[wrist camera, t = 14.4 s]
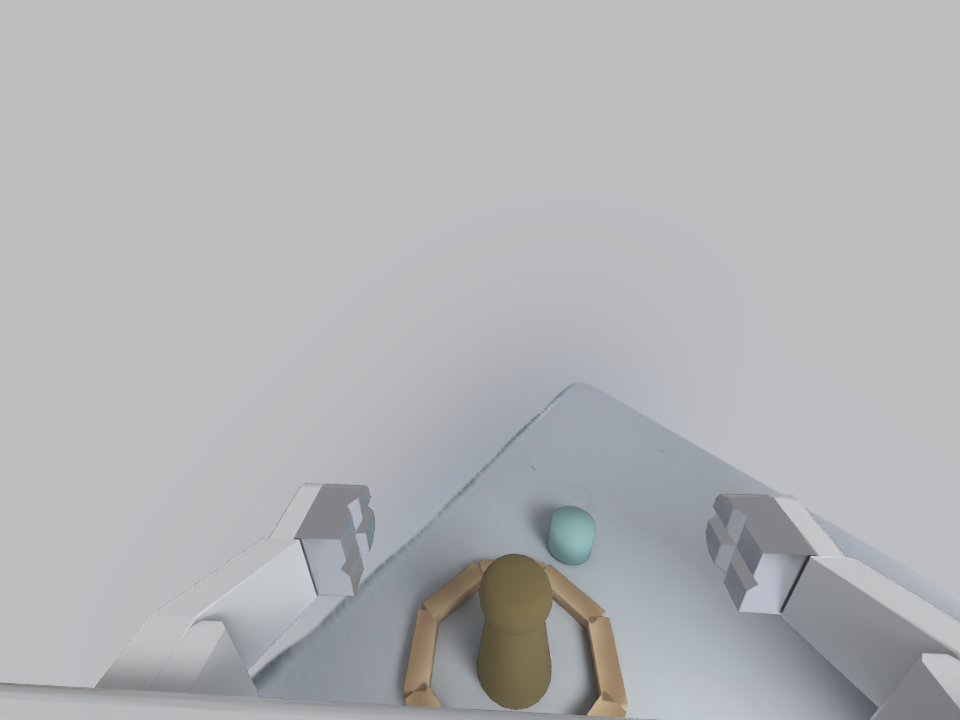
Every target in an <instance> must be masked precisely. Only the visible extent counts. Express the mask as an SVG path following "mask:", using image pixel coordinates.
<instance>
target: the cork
mask: <svg viewBox="0 0 960 720" xmlns="http://www.w3.org/2000/svg"><path fill="white" fill-rule="evenodd" d="M552 592H553V591H552V588H551V584H550V581H549V577H548V575H547V574H546V572H545V571H544V569H543V568H542V567H541V566H540V565H539V564H538V563H537V562H535V561H534V560H533V559H531V558H529V557H527V556H524V555H519V554H510V555H504V556H502V557H500V558H497V559H496V560H495V561H494V562H492V563H491V564H490V565H489V566H488V567H487V569H486V570H485V572H484V574H483V575H482V578H481V582H480V587H479V596H480V605H481V608H482V610H483V612H484V614H485V622H484V627H483V633H482V639H481V644H480V650H479V655H478V661H477V670H478V678H479V680H480V683H481V685H482V688H483V690H484V691H485V692H486V693H487V695H488V696H489V697H490V698H491V700H493V701H494V702H496V703H497V704H499V705H501V706H502V707H505V708H510V709H514V710H517V709H523V708H528V707H530V706H532V705H533V704H535V703H537V702H538V701H539V700H540V699H541V698H542V696H543V695H544V694H545V693H546V691H547V689H548V686H549V683H550V680H551V659H550V652H549V645H548V638H547V630H546V623H545V621H546V619H547V617H548V615H549V612H550V610H551V607H552Z"/></svg>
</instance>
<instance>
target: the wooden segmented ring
mask: <svg viewBox="0 0 960 720" xmlns="http://www.w3.org/2000/svg"><path fill="white" fill-rule="evenodd" d="M494 561H495V560H480V567H479V566H478V565H477V564H476V563H475V562H473V563H472V564H471V565H470V566H468V567H467V568H466V569H465V570H463V571H462V572H461V573H460V574H458V575H457V576H456V577H455V578H453V579H452V580H451V581H450V582H448V583H447V584H446V585H445V586H443V587H442V588H441V589H439V590H438V591H437V592H436V593H434V594H433V595H432V596H431V597H429V598H428V599H427V600H426V601H424V602H423V603H422V605H423V610H420V609H418V615H417V620H416V625H415V631H414V636H413V641H412V647H411V652H410V657H409V662H408V668H407V673H406V678H405V684H404V689H403V692H404V697H405V704H406V706H423V707H441V708H443V707H442V706H441V704H440V703H439V701H438V700H437V698H436V697H435V695H434V694H433V692H432V691H431V690H430V683H431V676H432V669H433V662H434V655H435V647H436V640H437V633H438V626H439V623H440V622H441V621H442V620H443V619H444V618H446V617H447V616H448V615H449V614H450V613H451V612H453V611H454V610H455V609H456V608H457V607H458V606H460V605H461V604H462V603H463V602H464V601H465V600H467V599H468V598H469V597H470V596H471V595H472V594H474V593H475V592H476V591H477V590H478V589H479V587H480V582H481V578H482V575H483V574H484V572H485V570H486V569H487V567H488V566H489V565H490V564H491V563H492V562H494ZM537 563H538V564H539V565H540V566H541V567H542V568H543V569H544V562H537ZM544 571H545V572H546V574H547V575H548V577H549V581H550V584H551V588H552V591H553V592H552V598H553V599H554V600H555V601H556V602H557V603H559V604H560V605H561V606H562V607H563V608H564V609H565V610H566V611H567V612H568V613H570V614H571V615H572V616H573V617H574V618H575V619H576V620H577V621H578V622H580V623H581V624H582V625H583V626H584V627H585V628H586V629H587V630H588V636H589V642H590V648H591V654H592V660H593V666H594V672H595V678H596V684H597V690H598V696H599V699H598V700H597V701H596V703H595V704H594V705H593V707H592V708H591V710H590V711H589V712H588V714H587V715H586V716H603V717H620V718H625V714H626V711H625V710H626V706H627V703H628V702H627V698H626V693H625V688H624V684H623V679H622V675H621V670H620V666H619V661H618V656H617V652H616V647H615V643H614V638H613V633H612V629H611V624H610V620H609V617H604V612H605V610H603V609H602V608H601V607H600V606H599V605H598V604H596V603H595V602H594V601H593V600H592V599H590V598H589V597H588V596H587V595H586V594H584V593H583V592H582V591H581V590H580V589H578V588H577V587H576V586H575V585H574V584H573V583H571V582H570V581H569V580H568V579H567V578H565V577H564V576H563V575H562V574H561V573H559V572H558V571H557V570H556V569H555V568H553V567H552V566H551V565H550V564H549V565H548V566H547V567H546V568H545V569H544Z"/></svg>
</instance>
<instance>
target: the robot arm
mask: <svg viewBox="0 0 960 720" xmlns="http://www.w3.org/2000/svg"><path fill="white" fill-rule="evenodd" d="M370 498H371V496H370V492H369V488H368V487H367V486H363V485H343V484H342V485H341V484H314V483H305V484H304V485H302V486H301V487H300V488H299V490H298V491H297V493H296V494H295V496H294V498H293V500H292V501H291V503H290V504H289V506H288V508H287V509H286V511H285V513H284V514H283V516H282V518H281V519H280V521H279V522H278V524H277V526H276V528H275V529H274V531H273V532H272V534H271V536H270V537H269V538H262V539H261V540H259V541H258V542H256V543H255V544H254V545H252V546H250V547H249V548H248V549H246V550H245V551H243V552H242V553H240V554H239V555H238V556H236V557H234V558H233V559H232V560H230V561H229V562H227V563H226V564H224V565H223V566H221V567H220V568H218V569H217V570H215V571H214V572H213V573H211V574H210V575H208V576H207V577H205V578H204V579H202V580H201V581H200V582H198V583H197V584H195V585H194V586H192V587H191V588H189V589H188V590H186V591H185V592H184V593H182V594H180V595H179V596H178V597H176V598H175V599H173V600H172V601H171V602H169V603H167V604H166V605H165V606H163V607H161V608H160V609H159V610H157V611H156V612H154V613H153V614H151V615H150V616H149V617H148V618H147V620H146V621H145V622H144V624H143V625H142V626H141V628H140V629H139V630H138V632H137V633H136V634H135V635H134V637H133V638H132V639H131V641H130V642H129V643H128V645H127V646H126V647H125V649H124V650H123V651H122V652H121V654H120V655H119V656H118V658H117V659H116V660H115V662H114V663H113V664H112V666H111V667H110V668H109V670H108V671H107V672H106V673H105V675H104V676H103V677H102V679H101V680H100V681H99V683H98V684H97V685H96V687H95V688H85V687H67V686H50V685H31V684H15V683H0V720H655V719H638V718H620V717H603V716H585V715H567V714H549V713H531V712H513V711H495V710H477V709H459V708H441V707H423V706H405V705H387V704H369V703H352V702H334V701H316V700H298V699H280V698H262V697H259V695H258V692H257V689H256V687H255V685H254V683H253V681H252V679H251V677H250V675H249V674H248V672H247V671H248V670H249V669H250V668H251V666H252V665H253V664H254V663H255V662H256V661H257V660H258V659H259V658H260V657H261V656H262V655H263V654H264V653H265V652H266V651H267V650H268V649H269V648H270V647H271V646H272V644H274V643H275V641H276V640H277V639H278V638H279V637H280V636H281V635H282V634H283V633H284V632H285V631H286V630H287V629H288V628H289V627H290V626H291V625H292V624H293V623H294V622H295V621H296V620H297V619H298V618H299V616H300V615H301V614H302V613H303V612H304V611H305V610H306V609H307V608H308V607H309V606H310V605H311V604H312V603H313V602H314V601H315V600H316V599H317V596H320V595H321V596H322V595H323V596H355V593H356V590H357V587H358V584H359V581H360V578H361V575H362V572H363V569H364V568H363V564H362V558H363V557H364V556H365V555H366V554H368V553H369V551H370V548H371V545H372V542H373V537H374V530H375V518H374V512H373V510H372V509H370V508H369V507H368V503H369V501H370ZM713 507H714V509H715V511H716V512H717V515H715V516H714V517H713V518H712V519H710V520H709V521H708V525H707V529H706V541H707V546H708V550H709V553H710V555H711V557H712V560H713V562H714V564H716V565H717V566H718V567H719V568H721V569H722V570H723V571H724V572H726V576H725V579H724V584H725V586H726V588H727V590H728V592H729V594H730V596H731V598H732V600H733V602H734V604H735V606H736V608H737V610H738V612H752V613H766V614H781V617H782V618H783V619H784V620H785V621H786V622H787V623H788V624H789V625H790V626H791V627H792V628H793V629H794V630H796V631H797V632H798V633H799V634H800V635H801V636H802V637H803V638H804V639H805V640H806V641H807V642H808V643H810V644H811V645H812V646H813V647H814V648H815V649H816V650H817V651H818V652H819V653H820V654H821V655H822V656H824V657H825V658H826V659H827V660H828V661H829V662H830V663H831V664H832V665H833V666H834V667H835V668H836V669H838V670H839V671H840V672H841V673H842V674H843V675H844V676H845V677H846V678H847V679H848V680H849V681H850V682H851V683H853V684H854V685H855V686H856V687H857V688H858V689H859V690H860V691H861V692H862V693H863V694H864V695H865V696H867V697H868V698H869V699H870V700H871V701H872V702H873V703H874V704H875V705H876V706H877V707H878V710H877V711H876V712H875V713H874V715H873V716H872V717H871V718H870V720H960V622H959V621H957V620H955V619H954V618H952V617H950V616H949V615H947V614H945V613H944V612H942V611H940V610H939V609H937V608H936V607H934V606H932V605H931V604H929V603H927V602H926V601H924V600H922V599H921V598H919V597H917V596H916V595H914V594H913V593H911V592H909V591H908V590H906V589H904V588H903V587H901V586H899V585H898V584H896V583H894V582H893V581H891V580H889V579H888V578H886V577H885V576H883V575H881V574H880V573H878V572H876V571H875V570H873V569H871V568H870V567H868V566H866V565H865V564H863V563H861V562H860V561H858V560H857V559H855V558H850V557H845V556H844V555H843V553H842V552H841V551H840V550H839V549H838V547H837V546H836V545H835V544H834V543H833V541H832V540H831V539H830V538H829V537H828V535H827V534H826V533H825V532H824V531H823V529H822V528H821V527H820V526H819V525H818V523H817V522H816V521H815V520H814V518H813V517H812V516H811V515H810V514H809V512H808V511H807V510H806V509H805V508H804V507H803V505H802V504H801V503H800V502H799V501H798V499H796V498H795V497H793V496H791V495H750V494H720V495H719V496H718V497H717V498H716V500H715V503H714V506H713Z"/></svg>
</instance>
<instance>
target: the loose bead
mask: <svg viewBox="0 0 960 720" xmlns="http://www.w3.org/2000/svg"><path fill="white" fill-rule="evenodd" d="M595 528H596V524H595V521H594V519H593V518H592V516H591V515H590V514H589V513H588V512H586V511H585V510H583V509H581V508H578V507H574V506H563V507H560V508H558V509H556V510H555V511H554V512H553V514H552V517H551V524H550V531H549V538H548V548H549V551H550V552H551V554H552V555H553V556H554V557H555V558H556V559H557V560H559V561H561V562H563V563H565V564H569V565H579V564H582V563H584V562H586V561H587V560H588V559H589V557H590V554H591V549H592V544H593V538H594V533H595Z"/></svg>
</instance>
